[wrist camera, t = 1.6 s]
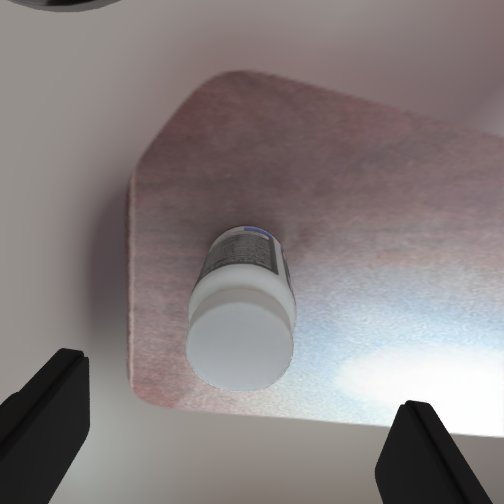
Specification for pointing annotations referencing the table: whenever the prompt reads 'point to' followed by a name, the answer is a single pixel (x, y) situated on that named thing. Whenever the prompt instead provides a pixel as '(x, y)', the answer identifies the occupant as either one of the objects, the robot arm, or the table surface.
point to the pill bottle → (242, 313)
